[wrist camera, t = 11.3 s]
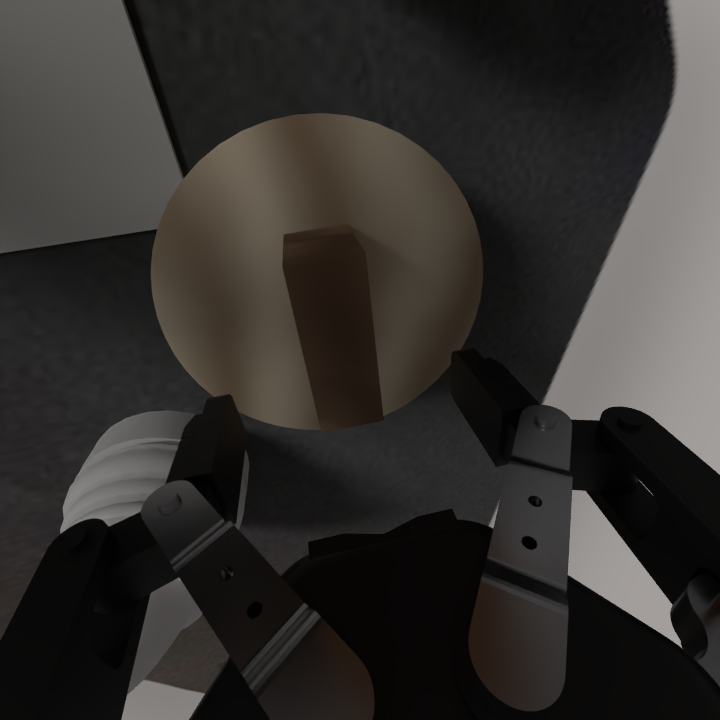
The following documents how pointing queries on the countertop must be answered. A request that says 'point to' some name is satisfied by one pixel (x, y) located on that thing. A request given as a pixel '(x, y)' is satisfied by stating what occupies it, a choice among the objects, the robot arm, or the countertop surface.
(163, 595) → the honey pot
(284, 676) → the robot arm
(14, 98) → the mat
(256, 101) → the countertop surface
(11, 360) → the countertop surface
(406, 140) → the lid
